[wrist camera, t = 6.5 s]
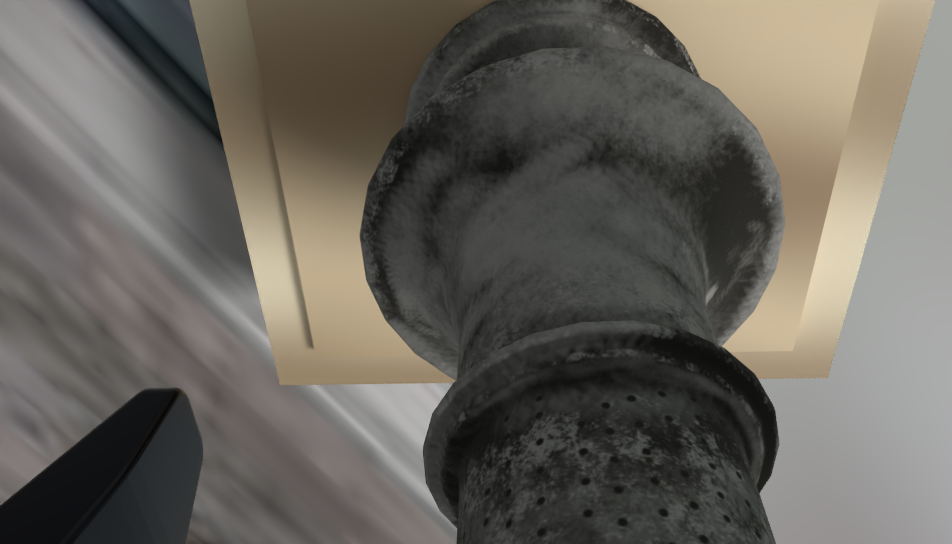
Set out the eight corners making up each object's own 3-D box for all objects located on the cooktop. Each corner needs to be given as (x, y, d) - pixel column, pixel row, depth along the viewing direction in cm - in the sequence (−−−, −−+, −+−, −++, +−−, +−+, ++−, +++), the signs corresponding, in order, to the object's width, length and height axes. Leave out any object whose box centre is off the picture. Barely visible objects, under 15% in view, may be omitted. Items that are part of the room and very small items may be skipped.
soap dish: (787, 294, 20) (831, 385, 18) (305, 302, 21) (277, 392, 18) (922, -296, 13) (1028, -292, 11) (194, -265, 14) (122, -253, 11)
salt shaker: (325, 174, 15) (3, 1106, 5) (520, -115, 12) (636, 734, 2) (578, 322, 17) (698, 1210, 7) (798, 102, 14) (1518, 1078, 4)
